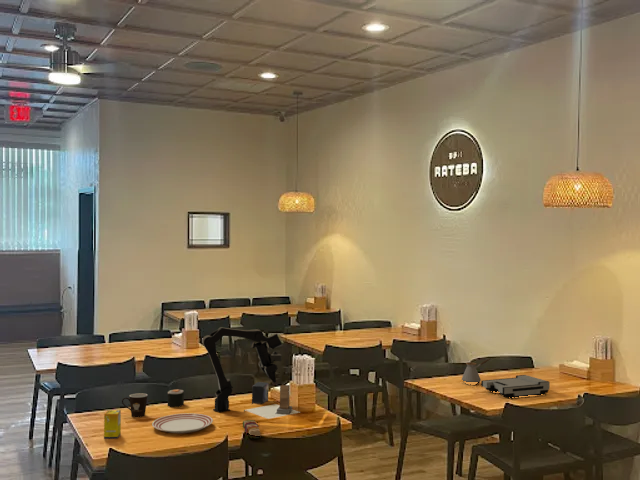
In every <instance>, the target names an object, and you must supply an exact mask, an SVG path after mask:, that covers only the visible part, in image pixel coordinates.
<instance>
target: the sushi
mask: <svg viewBox="0 0 640 480" xmlns="http://www.w3.org/2000/svg"><path fill="white" fill-rule="evenodd" d="M184 404H185V391H184V390H183V389H178V388H177V389H171V390H168V391H167V407H168V406H170V407H169V408H179V406H180V407H182V405H183V406H184Z"/></svg>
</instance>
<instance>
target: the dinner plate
mask: <svg viewBox="0 0 640 480" xmlns="http://www.w3.org/2000/svg"><path fill="white" fill-rule="evenodd" d="M213 422H214V420H213V418H212V417H211V416H209V415H208V414H204V413H203V414H202V413H194V412H193V413H190V412H189V413H187V412H184V413H183V412H182V413H174V414H169V415H164V416H161V417H158V418H156V419H155V420H154V421H153V422H152V423H151V425H152V427H153V428H154V429H156V430H158V431H162V432H167V433H169V434H188V433H190V434H191V433H194V432H198V431H200V430H203V429H205V428H207V427H208V426H210V425H211V424H212V423H213Z"/></svg>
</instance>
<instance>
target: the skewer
mask: <svg viewBox="0 0 640 480" xmlns="http://www.w3.org/2000/svg"><path fill="white" fill-rule="evenodd" d="M242 427H243V429H244V433H245V432H246V433H245V434H247V433H249V434H250V435H255V436H260V437H261V430H260V428H259V425H258V423H257V422H256V420H255V419H252V420H251V419H249V420H243V421H242Z"/></svg>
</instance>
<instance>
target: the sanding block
mask: <svg viewBox="0 0 640 480" xmlns="http://www.w3.org/2000/svg"><path fill="white" fill-rule="evenodd" d="M290 386H291V385H290V384H281V385H280V386H279V405H280V407H279V408H278V409H277V414H289V413H290V412H291V411H292V410H293V406H292V405H290V398H291V397H290V392H291V391H290V389H291V388H290Z"/></svg>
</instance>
